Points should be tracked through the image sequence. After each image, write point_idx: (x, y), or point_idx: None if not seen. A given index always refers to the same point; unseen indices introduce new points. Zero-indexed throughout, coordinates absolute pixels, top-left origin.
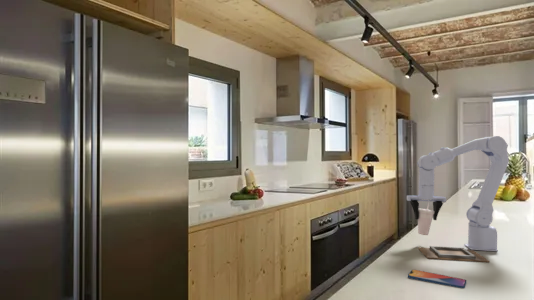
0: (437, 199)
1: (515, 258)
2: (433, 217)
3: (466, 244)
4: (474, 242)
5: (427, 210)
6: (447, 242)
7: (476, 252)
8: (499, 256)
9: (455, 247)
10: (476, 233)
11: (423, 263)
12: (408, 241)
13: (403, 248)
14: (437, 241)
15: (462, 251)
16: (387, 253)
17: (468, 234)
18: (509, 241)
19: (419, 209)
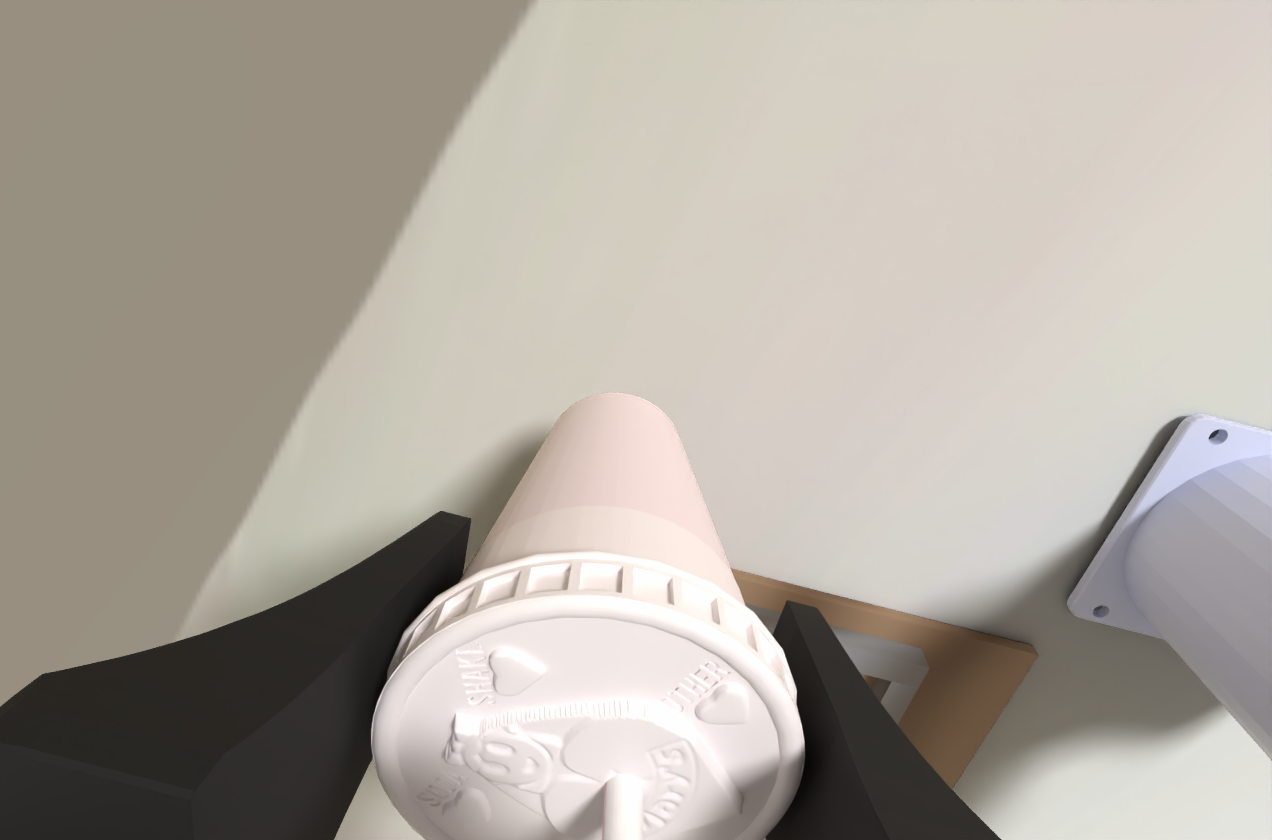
0: None
1: (1232, 829)
2: (785, 644)
3: (1196, 448)
4: (1167, 640)
5: (581, 836)
6: (1082, 248)
7: (998, 713)
8: (1144, 776)
9: (850, 654)
10: (1262, 748)
11: (396, 831)
12: (537, 184)
13: (368, 496)
14: (972, 185)
15: (874, 686)
16: (192, 626)
17: (1252, 599)
18: None
19: (388, 791)
